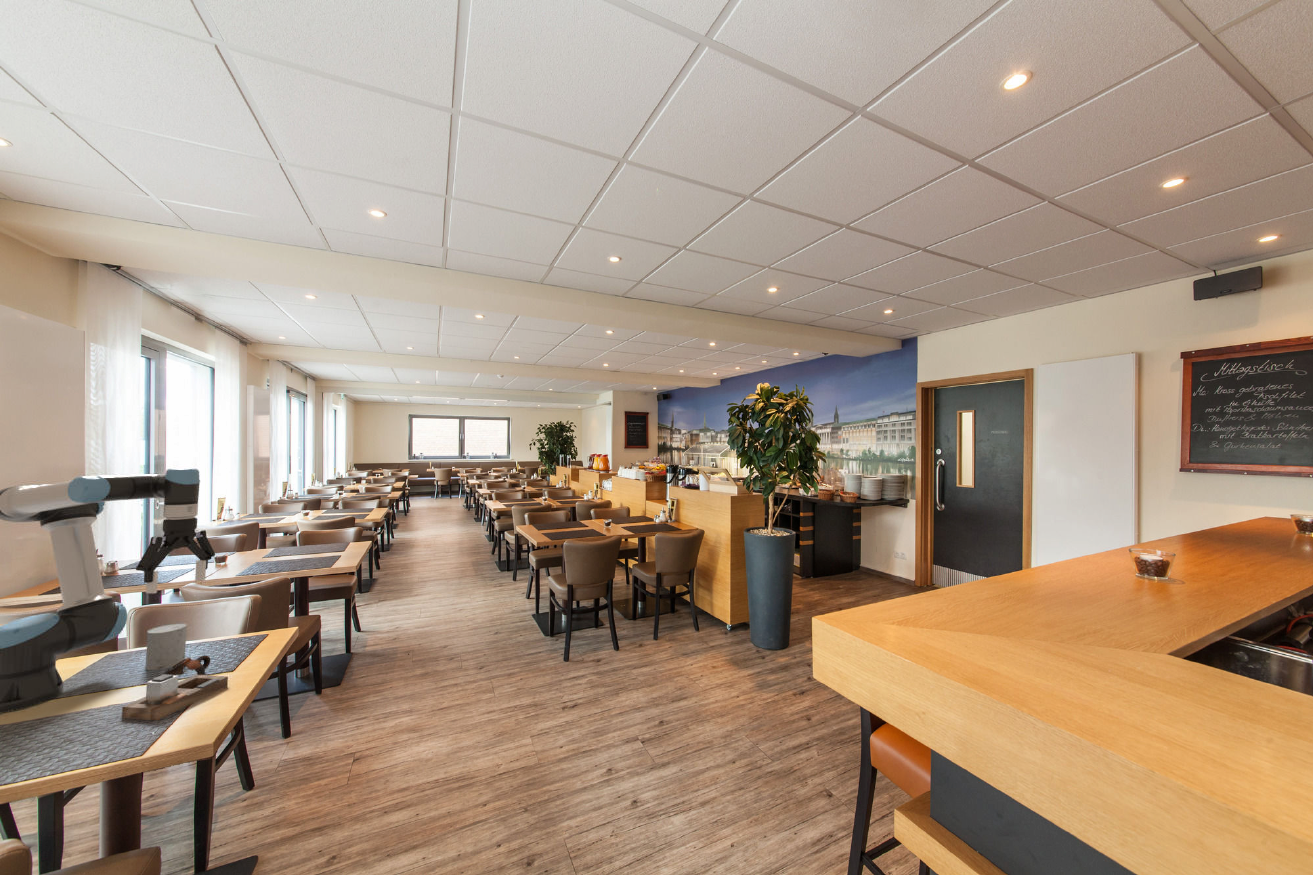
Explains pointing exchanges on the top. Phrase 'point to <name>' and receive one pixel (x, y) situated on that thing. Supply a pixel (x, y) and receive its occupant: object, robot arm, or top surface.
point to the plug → (161, 689)
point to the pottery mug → (189, 666)
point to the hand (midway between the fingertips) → (176, 586)
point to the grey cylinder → (165, 646)
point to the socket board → (176, 698)
